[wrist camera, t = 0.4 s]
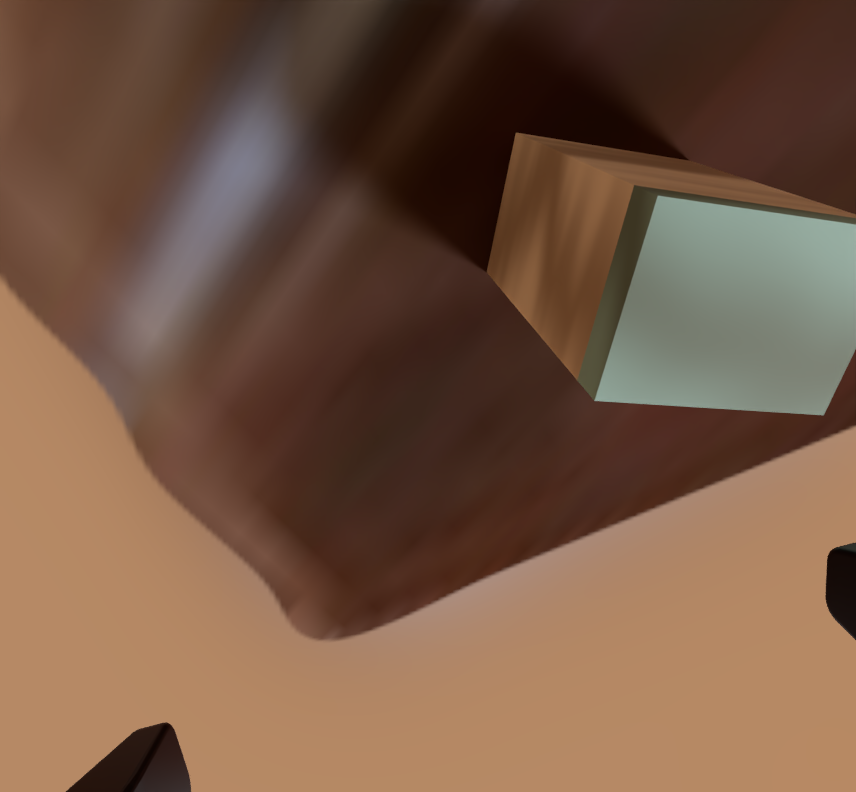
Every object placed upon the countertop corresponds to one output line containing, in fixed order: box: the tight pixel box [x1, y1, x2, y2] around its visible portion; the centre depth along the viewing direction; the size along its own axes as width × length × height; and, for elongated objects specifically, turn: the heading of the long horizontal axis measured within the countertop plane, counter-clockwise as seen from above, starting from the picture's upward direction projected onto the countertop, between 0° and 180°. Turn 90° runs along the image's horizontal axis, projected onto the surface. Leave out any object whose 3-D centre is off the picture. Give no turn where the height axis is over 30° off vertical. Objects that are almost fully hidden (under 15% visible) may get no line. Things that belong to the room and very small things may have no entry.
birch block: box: [487, 133, 856, 415], centre depth 18 cm, size 4×6×9 cm
